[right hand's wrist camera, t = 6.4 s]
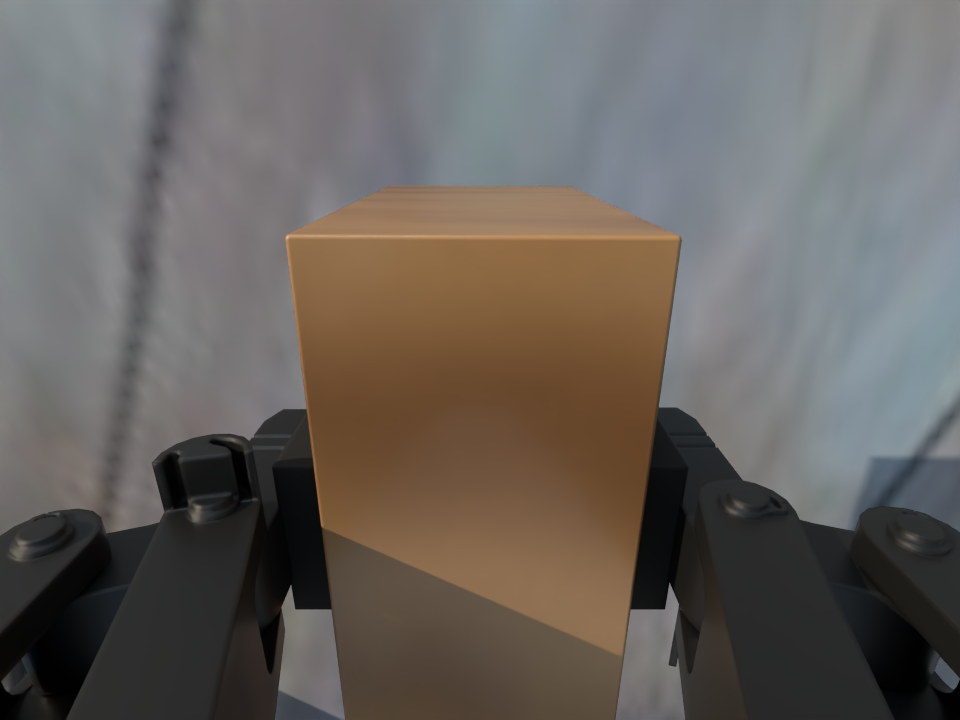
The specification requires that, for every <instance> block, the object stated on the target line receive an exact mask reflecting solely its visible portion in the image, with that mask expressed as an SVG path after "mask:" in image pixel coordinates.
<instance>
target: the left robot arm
mask: <svg viewBox="0 0 960 720" xmlns="http://www.w3.org/2000/svg"><path fill="white" fill-rule="evenodd" d="M26 674H27V671H26V669H25V666H24V664H23V662H22V659H21V660H20V661H19V662H18V663H17V665H16V666H15V667H14V668H13V669H12V670H11V671H10V672H9V673H8V675H7V676H6V677H5V678H4V679H3V680H2V681H1V682H2V684H3V686H4V688H5V690H6V691H8V692H9V691H10V690H11V689H12V688H13V687H15V686H16V685H17V684H18V683H19V682H20V681H21V680H22V678H23V677H24V676H25V675H26Z"/></svg>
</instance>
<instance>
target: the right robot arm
mask: <svg viewBox="0 0 960 720" xmlns="http://www.w3.org/2000/svg"><path fill="white" fill-rule="evenodd" d="M706 434H707V433H706V432H705V431H704V429H703V428H702V427H701V425H700V424H699V423H698V422H697V420H696V419H694V418H693V417H691V416H690V415H688V414H686V413H685V412H683V411H682V410H680V409H678V408H658V415H657V422H656V429H655V437H654V444H653V451H652V458H651V465H650V473H649V480H648V487H647V494H646V501H645V509H644V516H643V523H642V530H641V537H640V545H639V552H638V559H637V566H636V573H635V581H634V588H633V595H632V602H631V609H665V606H666V600H667V594H668V588H669V582H670V584H671V586H672V589H673V591H674V594H675V596H676V598H677V601H678V603H679V609H678V614H677V620H676V625H675V631H674V637H673V642H672V648H671V653H670V660H669V665H670V666H675V667H676V664H677V659H679V668H680V677H681V685H682V694H683V703H684V711H685V720H960V681H959V683H958V685H957V687H956V688H955V689H954V690H953V689H951V688H950V687H949V686H948V685H947V684H946V683H945V682H943V680H942V679H941V678H940V677H939V676H938V675H937V673H936V672H935V671H934V670H935V667H936V665H937V663H938V661H939V658H940V657H941V658H942V659H943V660H944V661H945V662H946V663H947V664H948V665H949V667H950V668H951V669H952V670H953V671H954V672H955V673H956V674H957V675H958V677H959V678H960V532H958V531H957V530H955V529H954V528H952V527H951V526H949V525H948V524H946V523H943V522H941V521H939V520H937V519H934V518H932V517H931V516H929V515H927V514H924V513H921V512H918V511H916V512H915V511H913V510H910V509H905V508H895V507H886V506H882V507H875V508H869V509H867V510H866V511H865V512H863V513H862V514H861V515H860V517H859V520H858V523H857V527H856V530H855V531H850V530H845V529H840V528H835V527H830V526H825V525H819V524H814V523H810V522H806V521H802V520H799V517H798V515H797V513H796V511H795V510H794V509H793V507H792V506H791V505H790V504H789V502H788V501H787V500H786V499H784V498H783V497H781V496H780V495H778V494H777V493H775V492H774V491H772V490H770V489H768V488H765V487H763V486H760V485H758V484H756V483H751V482H747V481H743V480H742V479H741V477H740V476H739V475H738V474H737V472H736V471H735V470H734V468H733V467H732V466H731V464H730V463H729V462H728V461H727V459H726V458H725V457H724V455H723V454H722V453H721V451H720V450H719V449H718V448H715V444H714V442H713V441H712V440H711V438H710V437H709V436H707V435H706ZM152 465H153V469H154V473H155V477H156V481H157V485H158V488H159V492H160V496H161V500H162V504H163V507H164V511H165V512H164V514H163V516H162V518H161V521H160V523H156V524H152V525H148V526H143V527H138V528H133V529H128V530H123V531H118V532H113V533H108V534H106V531H105V528H104V525H103V522H102V519H101V517H100V516H99V515H97V514H96V513H95V512H93V511H90V510H83V509H70V510H61V511H54V512H49V513H48V514H42V515H39V516H36V517H33V518H32V519H30V520H28V521H26V522H24V523H21V524H19V525H17V526H15V527H13V528H12V529H10V530H9V531H7V532H5V533H4V534H2V535H1V536H0V720H275V713H276V704H277V695H278V687H279V678H280V669H281V661H282V652H283V643H284V635H285V627H284V620H283V614H282V609H281V607H282V604H283V602H284V599H285V597H286V595H287V592H288V590H289V588H290V585H291V586H292V592H293V598H294V604H295V609H331V600H330V592H329V584H328V576H327V568H326V560H325V552H324V544H323V536H322V528H321V520H320V512H319V504H318V496H317V488H316V480H315V472H314V464H313V456H312V448H311V440H310V432H309V424H308V416H307V409H283V410H282V411H280V412H279V413H277V414H275V415H274V416H272V417H271V418H269V419H267V420H266V421H264V423H263V424H262V425H261V427H260V428H259V429H258V431H257V432H256V433H255V435H254V438H252V439H251V440H250V441H249V440H247V439H246V438H245V437H242V436H237V435H233V434H212V435H206V436H201V437H196V438H192V439H190V440H187V441H184V442H181V443H178V444H176V445H174V446H172V447H171V448H169V449H167V450H165V451H164V452H162V453H161V454H160V455H159V456H158V457H157V458H156V459H155V460H154V461H153V462H152ZM21 659H22V662H23V664H24V666H25V669H26V671H27V674H26V675H25V676H24V677H23V678H22V680H21V681H20V682H19V683H18V684H17V685H16V686H15V687H13V688H12V689H11V690H10V691H9V692H8V691H6V690H5V688H4V686H3V684H2V682H1V681H2V680H3V679H4V678H5V677H6V676H7V675H8V673H9V672H10V671H11V670H12V669H13V668H14V667H15V666H16V665H17V663H18V662H19V661H20V660H21Z"/></svg>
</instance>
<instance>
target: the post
mask: <svg viewBox="0 0 960 720" xmlns="http://www.w3.org/2000/svg"><path fill="white" fill-rule="evenodd" d="M681 242H682V240H681V236H678V235H676V234H674V233H672V232H670V231H667V230H665V229H663V228H661V227H659V226H656V225H654V224H652V223H650V222H648V221H645V220H643V219H641V218H639V217H637V216H634V215H632V214H630V213H628V212H626V211H623V210H621V209H619V208H617V207H615V206H612V205H610V204H608V203H606V202H604V201H601V200H599V199H597V198H595V197H593V196H590V195H588V194H586V193H584V192H582V191H579V190H577V189H575V188H573V187H567V186H388V187H385V188H383V189H381V190H379V191H377V192H375V193H373V194H371V195H369V196H367V197H365V198H363V199H360V200H358V201H356V202H354V203H352V204H350V205H348V206H346V207H344V208H342V209H340V210H338V211H336V212H333V213H331V214H329V215H327V216H325V217H323V218H321V219H319V220H317V221H315V222H313V223H311V224H308V225H306V226H304V227H302V228H300V229H298V230H296V231H294V232H292V233H290V234H288V235H286V247H287V255H288V263H289V271H290V279H291V287H292V295H293V303H294V311H295V319H296V327H297V335H298V343H299V351H300V360H301V368H302V376H303V384H304V392H305V400H306V408H307V416H308V424H309V432H310V440H311V448H312V456H313V464H314V472H315V480H316V488H317V496H318V504H319V512H320V520H321V528H322V536H323V544H324V552H325V560H326V568H327V576H328V584H329V592H330V600H331V609H332V617H333V625H334V633H335V641H336V649H337V657H338V665H339V673H340V681H341V689H342V697H343V705H344V713H345V720H615V718H616V710H617V703H618V696H619V689H620V682H621V674H622V667H623V660H624V653H625V646H626V638H627V631H628V624H629V617H630V610H631V602H632V595H633V588H634V581H635V573H636V566H637V559H638V552H639V545H640V537H641V530H642V523H643V516H644V509H645V501H646V494H647V487H648V480H649V473H650V465H651V458H652V451H653V444H654V437H655V429H656V422H657V415H658V408H659V400H660V393H661V386H662V379H663V372H664V364H665V357H666V350H667V343H668V336H669V328H670V321H671V314H672V307H673V300H674V292H675V285H676V278H677V271H678V264H679V256H680V249H681Z"/></svg>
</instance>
